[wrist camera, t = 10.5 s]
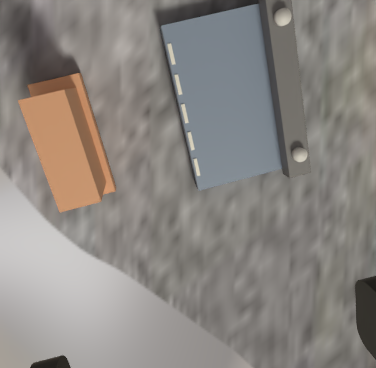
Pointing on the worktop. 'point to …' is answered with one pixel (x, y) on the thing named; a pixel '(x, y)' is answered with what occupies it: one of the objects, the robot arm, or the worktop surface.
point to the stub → (68, 141)
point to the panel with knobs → (239, 92)
